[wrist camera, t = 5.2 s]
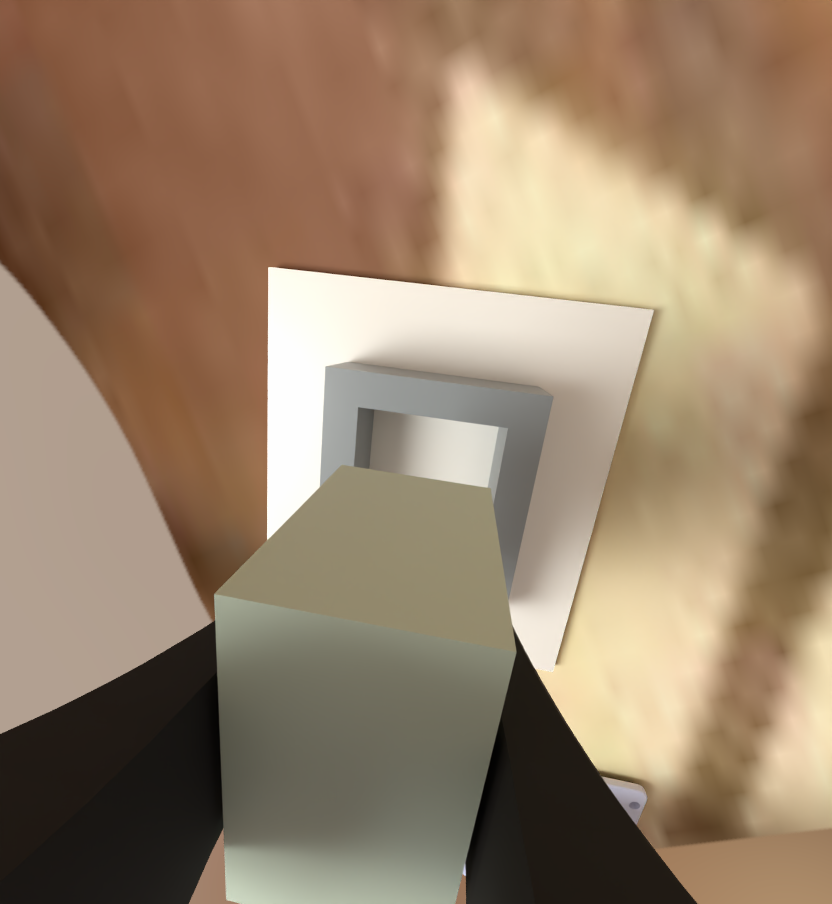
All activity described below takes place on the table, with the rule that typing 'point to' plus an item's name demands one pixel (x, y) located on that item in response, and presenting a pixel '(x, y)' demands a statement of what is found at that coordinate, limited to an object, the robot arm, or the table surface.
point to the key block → (362, 693)
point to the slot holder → (457, 411)
